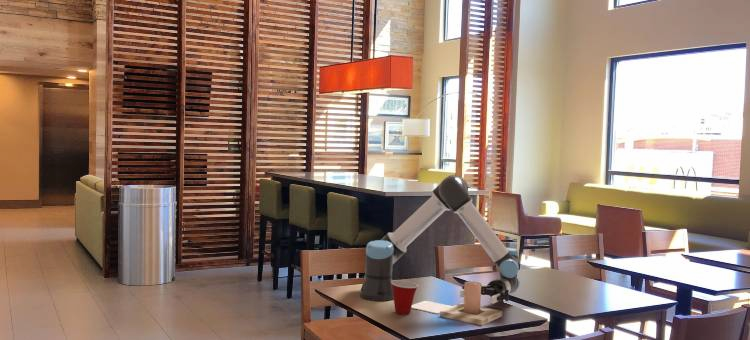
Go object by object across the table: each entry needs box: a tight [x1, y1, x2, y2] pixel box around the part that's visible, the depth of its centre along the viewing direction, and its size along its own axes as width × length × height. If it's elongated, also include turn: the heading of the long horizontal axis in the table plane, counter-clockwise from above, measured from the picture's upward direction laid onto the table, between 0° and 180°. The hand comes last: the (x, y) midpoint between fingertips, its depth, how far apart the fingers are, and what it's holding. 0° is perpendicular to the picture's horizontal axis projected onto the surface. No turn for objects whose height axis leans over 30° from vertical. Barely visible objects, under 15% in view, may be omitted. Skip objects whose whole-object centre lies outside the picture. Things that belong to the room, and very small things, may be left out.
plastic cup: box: [391, 279, 419, 315], centre depth 251 cm, size 11×11×12 cm
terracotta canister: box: [463, 280, 482, 315], centre depth 251 cm, size 6×6×13 cm
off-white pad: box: [411, 300, 452, 315], centre depth 262 cm, size 14×14×1 cm
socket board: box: [439, 302, 503, 326], centre depth 251 cm, size 18×18×2 cm
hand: (476, 296), depth 253 cm, fingers open, 13 cm apart
